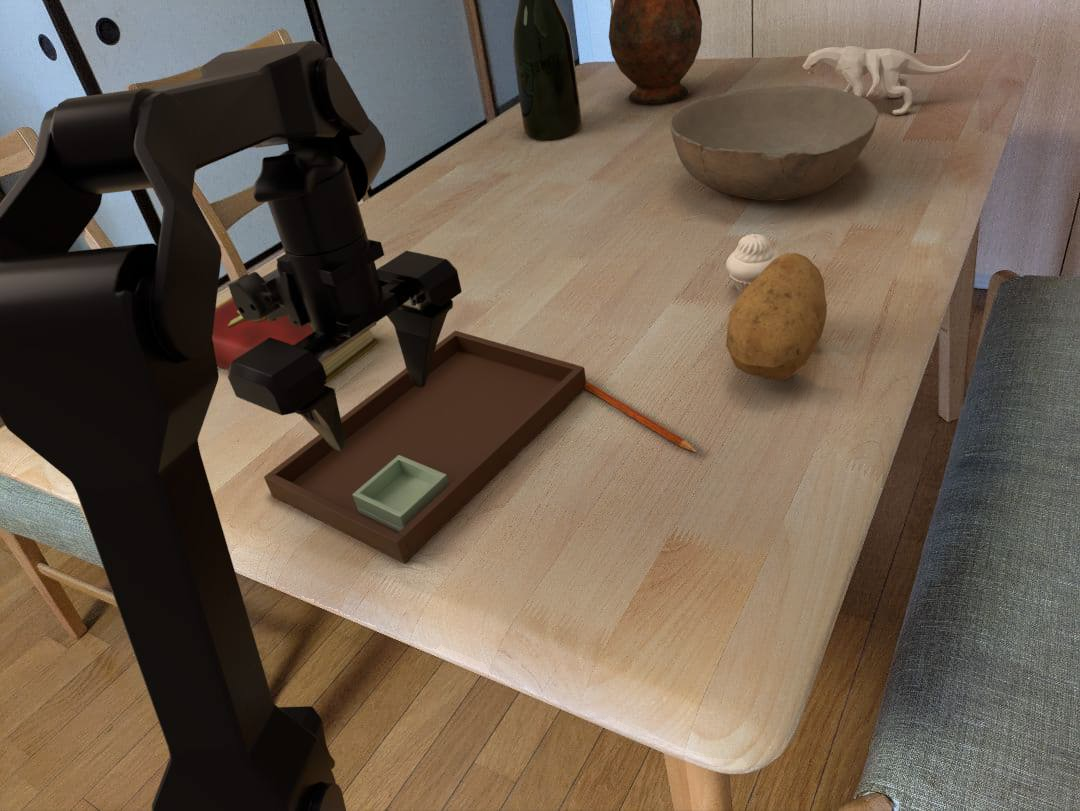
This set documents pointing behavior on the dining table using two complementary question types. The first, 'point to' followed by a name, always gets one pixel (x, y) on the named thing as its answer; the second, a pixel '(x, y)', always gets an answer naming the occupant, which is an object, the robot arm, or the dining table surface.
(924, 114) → the dining table surface
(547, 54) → the beer bottle
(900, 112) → the white dinosaur figurine
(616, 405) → the pencil
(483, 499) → the dining table surface
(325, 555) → the dining table surface
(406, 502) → the celadon dish
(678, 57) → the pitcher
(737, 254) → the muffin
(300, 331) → the book
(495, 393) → the tray
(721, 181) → the bowl
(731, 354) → the potato
